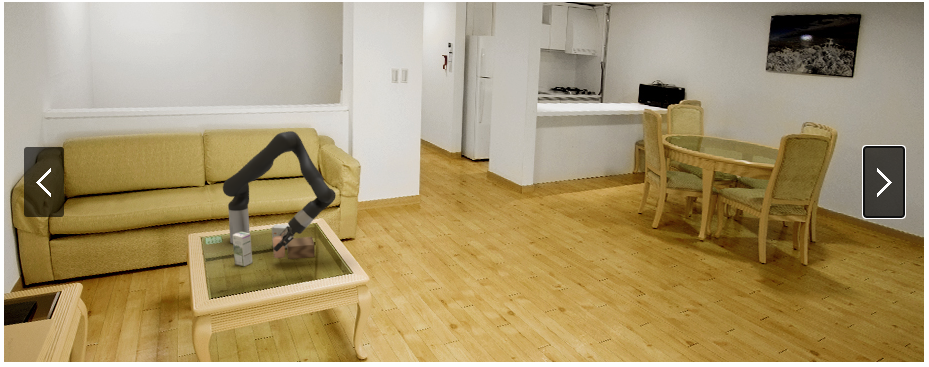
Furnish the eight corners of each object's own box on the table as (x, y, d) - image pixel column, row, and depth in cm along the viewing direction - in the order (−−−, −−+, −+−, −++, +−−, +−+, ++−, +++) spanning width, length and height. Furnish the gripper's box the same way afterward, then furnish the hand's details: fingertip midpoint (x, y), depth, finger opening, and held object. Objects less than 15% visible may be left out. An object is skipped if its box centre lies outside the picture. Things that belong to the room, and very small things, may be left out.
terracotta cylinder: (273, 258, 278) (273, 239, 276) (273, 254, 283) (272, 236, 281) (285, 257, 280) (284, 239, 278) (285, 253, 284) (284, 235, 282)
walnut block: (288, 258, 289) (288, 246, 287) (287, 250, 300) (286, 238, 298) (314, 256, 293) (314, 244, 291) (312, 248, 304) (312, 236, 302)
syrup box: (252, 262, 283) (251, 232, 280) (243, 266, 278) (241, 236, 274) (243, 260, 285) (241, 230, 282) (234, 264, 280) (231, 234, 277)
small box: (292, 244, 308) (291, 224, 305) (288, 248, 303) (287, 228, 300) (276, 243, 309) (275, 223, 306) (272, 247, 303) (271, 227, 301)
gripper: (293, 211, 286) (268, 237, 285) (295, 220, 272) (268, 248, 272) (306, 221, 289) (280, 247, 288) (308, 231, 275) (281, 258, 275)
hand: (274, 247), depth 280 cm, fingers closed on terracotta cylinder, 5 cm apart
